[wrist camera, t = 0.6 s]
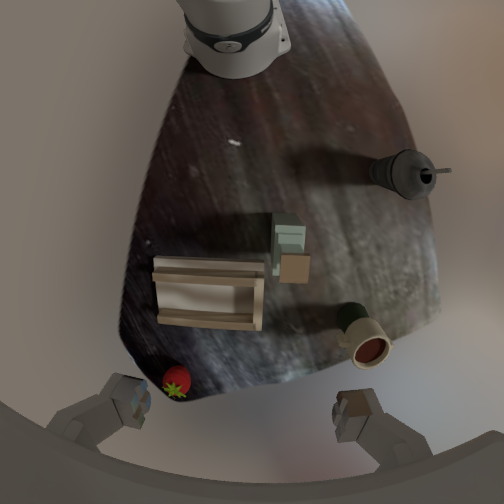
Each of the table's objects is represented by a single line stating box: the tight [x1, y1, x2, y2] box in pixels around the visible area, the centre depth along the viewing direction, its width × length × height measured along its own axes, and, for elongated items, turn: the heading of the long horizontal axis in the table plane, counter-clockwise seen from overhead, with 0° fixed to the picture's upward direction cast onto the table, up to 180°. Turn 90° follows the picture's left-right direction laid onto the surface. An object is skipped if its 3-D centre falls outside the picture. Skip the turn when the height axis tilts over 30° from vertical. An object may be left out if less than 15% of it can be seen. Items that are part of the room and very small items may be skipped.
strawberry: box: [162, 365, 191, 399], centre depth 52 cm, size 6×8×10 cm
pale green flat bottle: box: [270, 213, 311, 283], centre depth 39 cm, size 7×4×18 cm, turn 178°
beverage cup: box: [369, 149, 452, 200], centre depth 34 cm, size 7×7×20 cm
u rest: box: [152, 256, 264, 331], centre depth 48 cm, size 13×20×5 cm, turn 88°
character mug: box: [336, 303, 394, 370], centre depth 45 cm, size 11×7×13 cm, turn 81°
